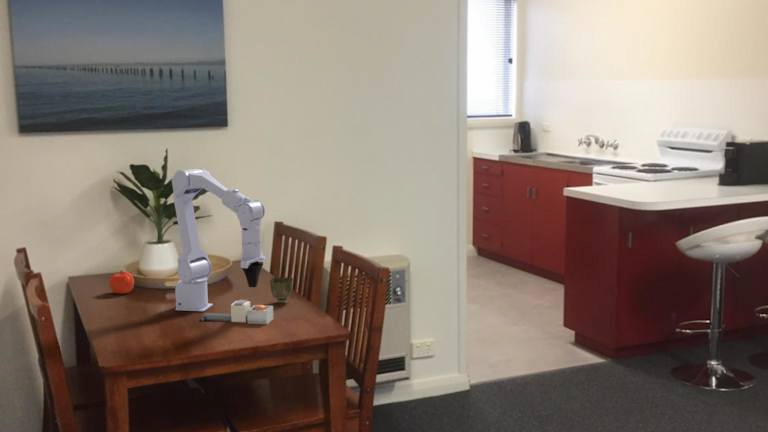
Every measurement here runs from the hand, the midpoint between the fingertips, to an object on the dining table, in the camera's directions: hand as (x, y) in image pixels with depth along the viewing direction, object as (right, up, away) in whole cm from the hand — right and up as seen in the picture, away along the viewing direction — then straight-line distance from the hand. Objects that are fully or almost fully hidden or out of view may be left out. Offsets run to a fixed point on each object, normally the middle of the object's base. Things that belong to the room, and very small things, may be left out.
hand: (252, 286), depth 240 cm
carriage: (-4, -10, 0) cm, 11 cm away
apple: (-50, -5, +34) cm, 61 cm away
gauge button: (+2, -8, -1) cm, 8 cm away
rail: (-8, -10, +1) cm, 13 cm away
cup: (+6, -7, +19) cm, 22 cm away
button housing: (+2, -10, -1) cm, 10 cm away
